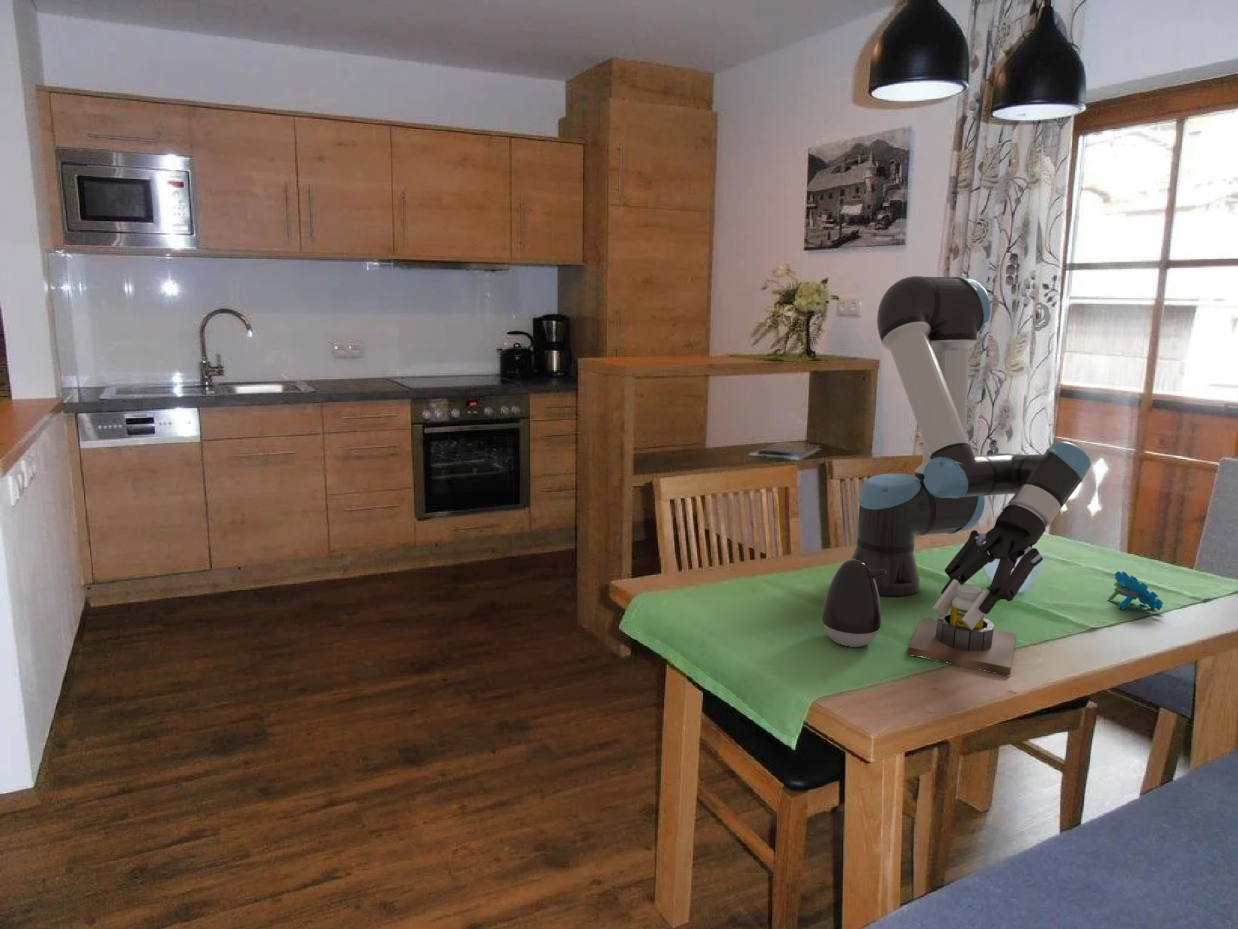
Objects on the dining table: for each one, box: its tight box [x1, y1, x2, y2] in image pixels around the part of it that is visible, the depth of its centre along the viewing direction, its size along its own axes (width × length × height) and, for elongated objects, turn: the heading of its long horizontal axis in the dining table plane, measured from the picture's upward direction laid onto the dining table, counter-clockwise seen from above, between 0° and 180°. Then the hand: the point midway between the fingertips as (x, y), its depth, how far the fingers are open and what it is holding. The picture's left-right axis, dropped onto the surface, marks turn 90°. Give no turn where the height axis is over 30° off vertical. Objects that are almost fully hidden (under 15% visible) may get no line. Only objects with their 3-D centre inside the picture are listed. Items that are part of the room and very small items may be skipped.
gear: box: [1107, 570, 1164, 611], centre depth 168 cm, size 11×6×10 cm
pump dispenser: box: [821, 558, 886, 648], centre depth 148 cm, size 10×10×15 cm
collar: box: [936, 611, 995, 651], centre depth 146 cm, size 9×9×4 cm
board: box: [907, 616, 1017, 676], centre depth 147 cm, size 16×16×2 cm
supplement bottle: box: [950, 584, 985, 629], centre depth 146 cm, size 5×5×10 cm
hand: (952, 618), depth 144 cm, fingers open, 5 cm apart
